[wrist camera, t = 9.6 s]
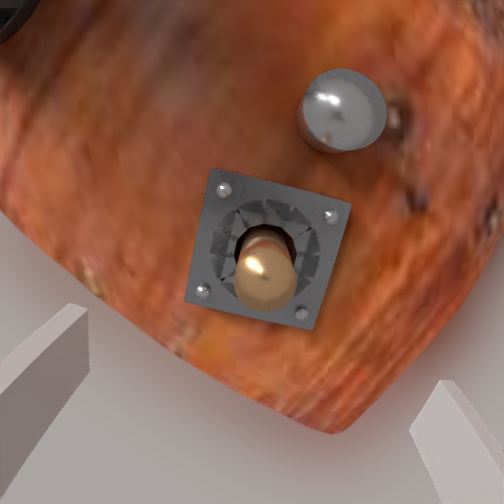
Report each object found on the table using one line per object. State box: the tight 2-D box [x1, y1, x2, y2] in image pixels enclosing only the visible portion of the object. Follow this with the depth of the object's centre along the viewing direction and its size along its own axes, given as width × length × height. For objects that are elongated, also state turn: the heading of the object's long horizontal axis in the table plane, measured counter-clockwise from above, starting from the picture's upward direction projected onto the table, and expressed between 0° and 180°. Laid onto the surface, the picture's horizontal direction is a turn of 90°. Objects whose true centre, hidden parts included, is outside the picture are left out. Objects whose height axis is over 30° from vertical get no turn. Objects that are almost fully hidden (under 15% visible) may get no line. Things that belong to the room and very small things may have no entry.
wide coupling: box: [296, 69, 387, 153], centre depth 24 cm, size 6×6×6 cm
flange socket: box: [184, 168, 352, 330], centre depth 28 cm, size 12×12×4 cm
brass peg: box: [234, 225, 297, 312], centre depth 25 cm, size 4×4×10 cm
